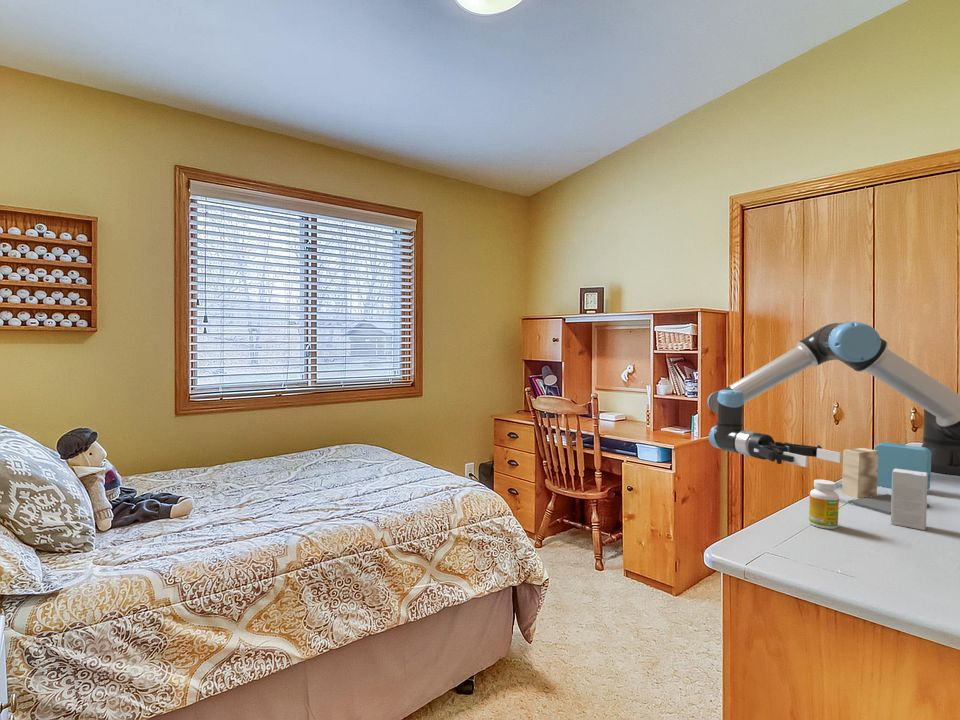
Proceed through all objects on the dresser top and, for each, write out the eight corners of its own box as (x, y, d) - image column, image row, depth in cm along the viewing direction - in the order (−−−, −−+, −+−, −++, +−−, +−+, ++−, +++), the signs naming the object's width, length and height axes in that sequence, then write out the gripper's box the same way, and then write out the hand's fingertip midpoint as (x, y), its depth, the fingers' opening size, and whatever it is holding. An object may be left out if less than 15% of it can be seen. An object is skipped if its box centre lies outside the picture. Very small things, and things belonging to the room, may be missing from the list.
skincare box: (926, 526, 119) (928, 472, 119) (924, 531, 116) (927, 476, 115) (891, 519, 123) (894, 467, 123) (889, 524, 120) (891, 471, 120)
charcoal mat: (887, 496, 142) (887, 494, 142) (929, 506, 133) (929, 504, 133) (848, 503, 135) (848, 500, 135) (889, 514, 127) (889, 512, 127)
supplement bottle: (828, 531, 115) (830, 486, 115) (803, 523, 120) (805, 480, 120) (842, 527, 118) (844, 483, 117) (817, 519, 123) (819, 477, 122)
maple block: (860, 491, 146) (862, 447, 146) (876, 495, 142) (878, 450, 142) (841, 494, 143) (843, 449, 142) (857, 498, 139) (859, 452, 139)
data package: (929, 491, 147) (931, 448, 146) (926, 494, 144) (928, 450, 143) (876, 482, 156) (878, 441, 155) (872, 485, 153) (874, 443, 152)
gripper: (783, 454, 168) (853, 469, 149) (724, 460, 159) (791, 478, 139) (784, 430, 168) (854, 442, 149) (725, 435, 158) (792, 449, 139)
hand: (824, 459), depth 144 cm, fingers open, 13 cm apart
